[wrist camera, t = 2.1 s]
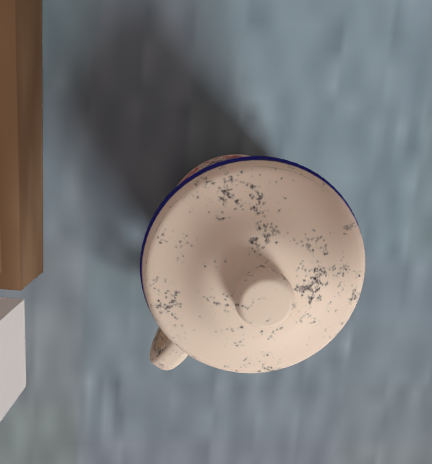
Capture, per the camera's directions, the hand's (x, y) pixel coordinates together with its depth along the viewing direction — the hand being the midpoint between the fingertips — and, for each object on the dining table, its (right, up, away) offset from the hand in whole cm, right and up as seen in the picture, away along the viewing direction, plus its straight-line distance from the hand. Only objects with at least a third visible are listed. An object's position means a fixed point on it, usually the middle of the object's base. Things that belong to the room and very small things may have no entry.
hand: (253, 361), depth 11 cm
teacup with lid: (-1, +3, +13) cm, 13 cm away
